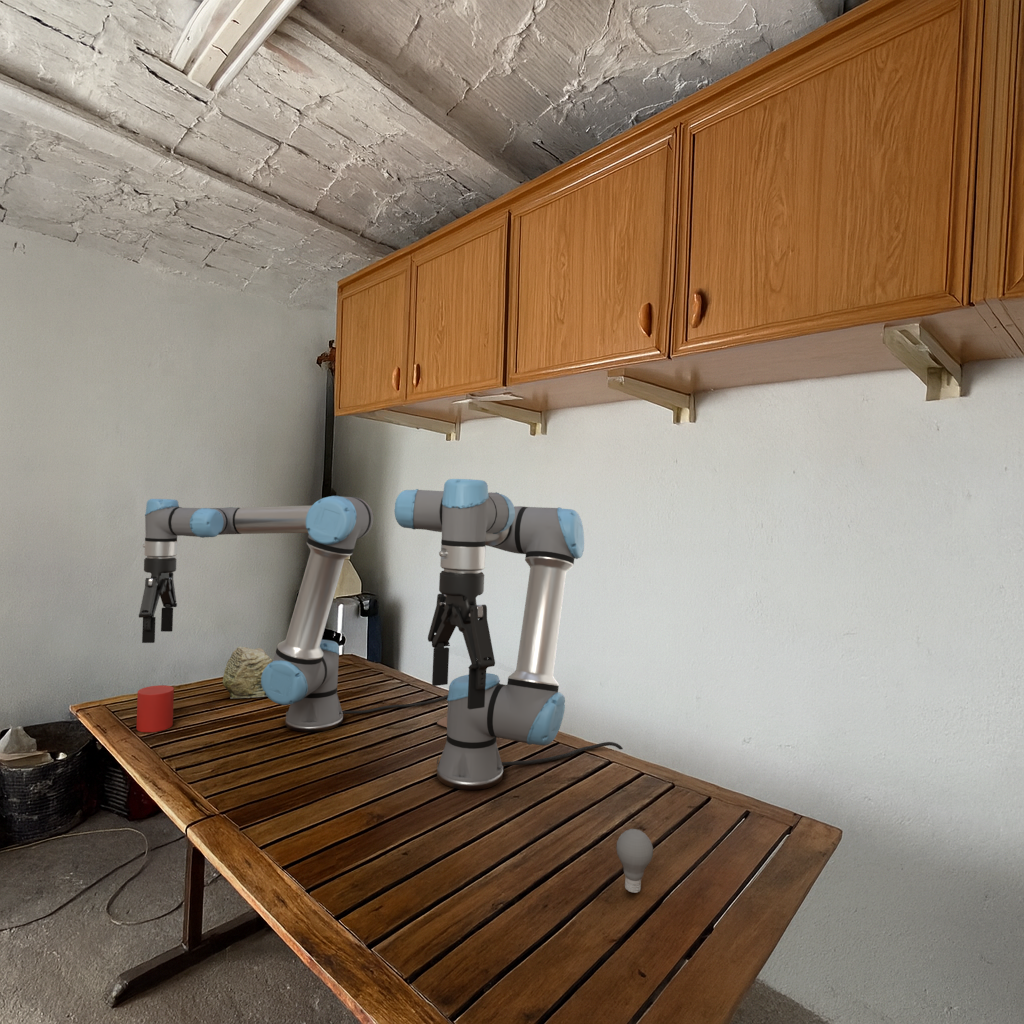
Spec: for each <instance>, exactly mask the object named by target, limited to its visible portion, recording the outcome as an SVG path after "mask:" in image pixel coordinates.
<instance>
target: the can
mask: <svg viewBox="0 0 1024 1024" xmlns="http://www.w3.org/2000/svg"><path fill="white" fill-rule="evenodd" d="M174 697H175V687H174V686H172V685H164V684H162V685H158V684H157V685H150V686H145V687H142V688H140V689H139V690H137V698H136V700H137V702H136V727H135V728H136V731H138V732H140V733H156V732H161V731H165V730H168V729H170V728H171V727H173V724H174V702H175V701H174V699H175V698H174Z"/></svg>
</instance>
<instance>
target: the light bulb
mask: <svg viewBox="0 0 1024 1024" xmlns="http://www.w3.org/2000/svg"><path fill="white" fill-rule="evenodd" d="M615 849H616V854H617V857H618V859H619V861H620V863H621V865H622V867H623V873H624V874H623V875H624V876H625V878H624V888H625V890H627V891H628V892H630V893H634V894H635V893H639V892H640V891H641V889H642V887H641V886H642V879H643V877H644V875H645V871H646V868H647V867H648V866H649V864H650V863H651V861H652V859H653V855H654V847H653V843H652V841H651V838H649V836H648V835H647V834H646V833H645V832H643V831H642V830H641V829H636V828H629V829H627V830H625V831H623V832H622V833H621V834H620V835H619V837H618V839H617V841H616V847H615Z"/></svg>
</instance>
